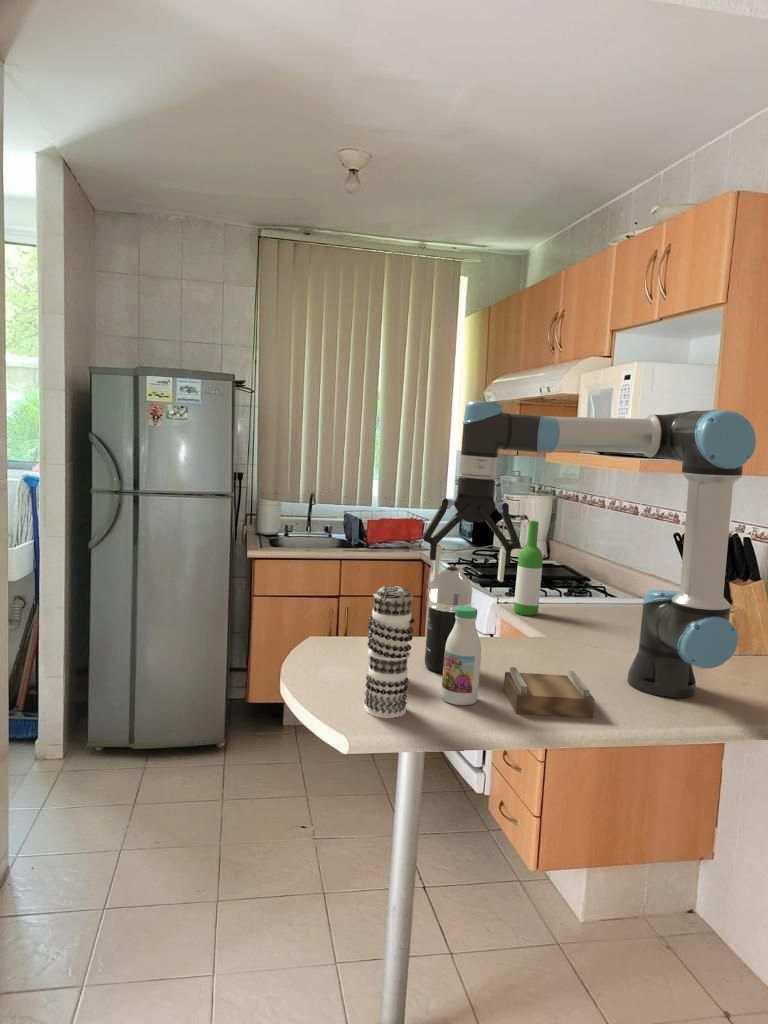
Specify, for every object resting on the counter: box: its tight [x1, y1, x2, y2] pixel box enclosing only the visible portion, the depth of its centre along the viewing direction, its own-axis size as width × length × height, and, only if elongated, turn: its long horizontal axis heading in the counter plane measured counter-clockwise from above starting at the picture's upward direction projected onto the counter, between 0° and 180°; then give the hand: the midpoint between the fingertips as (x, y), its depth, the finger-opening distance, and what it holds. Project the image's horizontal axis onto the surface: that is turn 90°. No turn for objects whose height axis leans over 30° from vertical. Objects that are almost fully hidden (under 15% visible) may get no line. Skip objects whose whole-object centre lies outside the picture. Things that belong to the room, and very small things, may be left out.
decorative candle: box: [363, 585, 416, 719], centre depth 146 cm, size 9×9×25 cm
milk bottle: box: [440, 606, 482, 706], centre depth 154 cm, size 8×8×20 cm
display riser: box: [503, 666, 596, 719], centre depth 157 cm, size 16×14×6 cm
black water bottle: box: [424, 565, 473, 674], centre depth 174 cm, size 10×10×25 cm
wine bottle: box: [513, 520, 544, 617], centre depth 233 cm, size 8×8×30 cm
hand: (467, 578), depth 153 cm, fingers open, 13 cm apart
